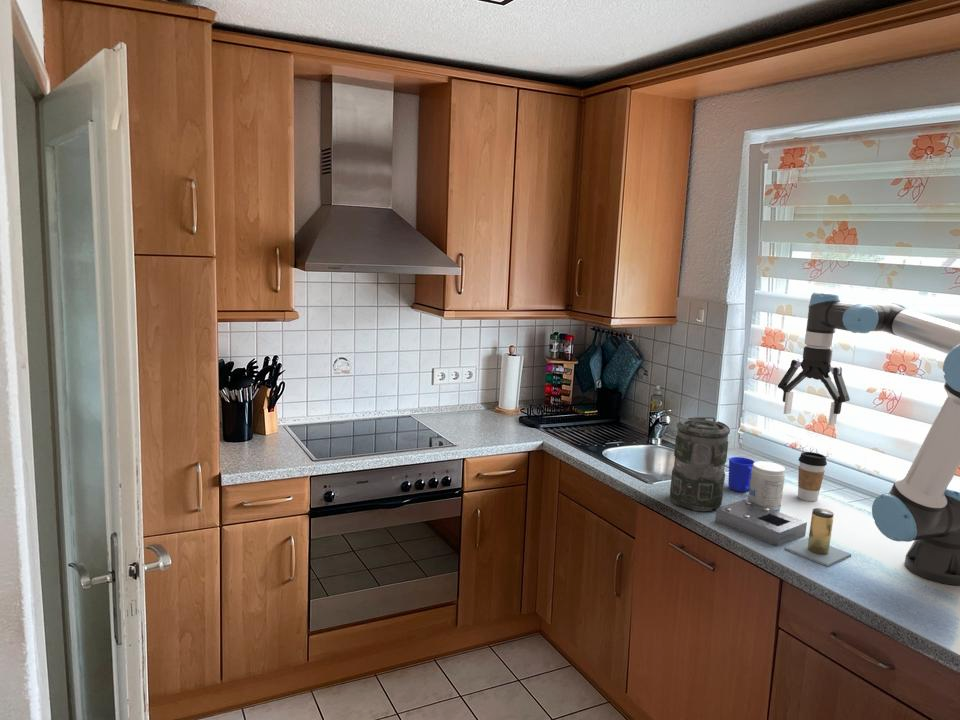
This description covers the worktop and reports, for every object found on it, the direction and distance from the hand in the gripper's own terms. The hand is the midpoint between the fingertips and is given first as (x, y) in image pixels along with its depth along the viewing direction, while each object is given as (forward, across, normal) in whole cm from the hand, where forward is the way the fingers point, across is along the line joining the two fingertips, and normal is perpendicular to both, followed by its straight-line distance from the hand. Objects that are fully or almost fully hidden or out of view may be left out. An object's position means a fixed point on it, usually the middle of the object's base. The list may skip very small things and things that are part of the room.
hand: (809, 419), depth 208 cm
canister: (+32, +26, +14) cm, 43 cm away
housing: (+32, +3, +14) cm, 35 cm away
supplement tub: (+32, +10, +1) cm, 33 cm away
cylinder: (+31, -15, +15) cm, 38 cm away
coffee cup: (+32, +9, -23) cm, 40 cm away
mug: (+32, +24, -9) cm, 41 cm away
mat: (+32, -15, +15) cm, 38 cm away
